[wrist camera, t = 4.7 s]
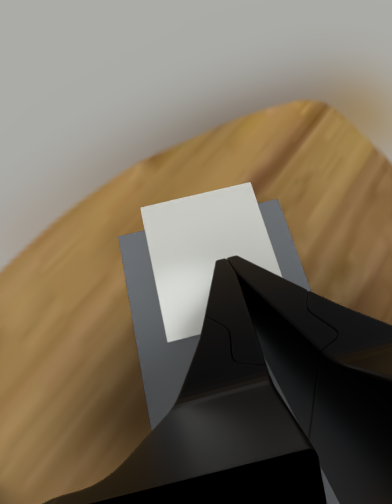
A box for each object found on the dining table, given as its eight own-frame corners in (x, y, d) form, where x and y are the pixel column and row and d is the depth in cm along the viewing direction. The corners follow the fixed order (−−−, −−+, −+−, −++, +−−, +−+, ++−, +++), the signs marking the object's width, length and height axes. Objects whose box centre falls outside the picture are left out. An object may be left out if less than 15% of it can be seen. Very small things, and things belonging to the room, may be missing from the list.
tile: (293, 310, 13) (250, 182, 15) (167, 342, 13) (140, 207, 15) (284, 310, 14) (245, 193, 16) (171, 339, 14) (145, 217, 16)
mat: (390, 531, 12) (403, 546, 12) (183, 593, 12) (182, 613, 11) (274, 204, 17) (277, 198, 16) (122, 240, 17) (118, 236, 16)
